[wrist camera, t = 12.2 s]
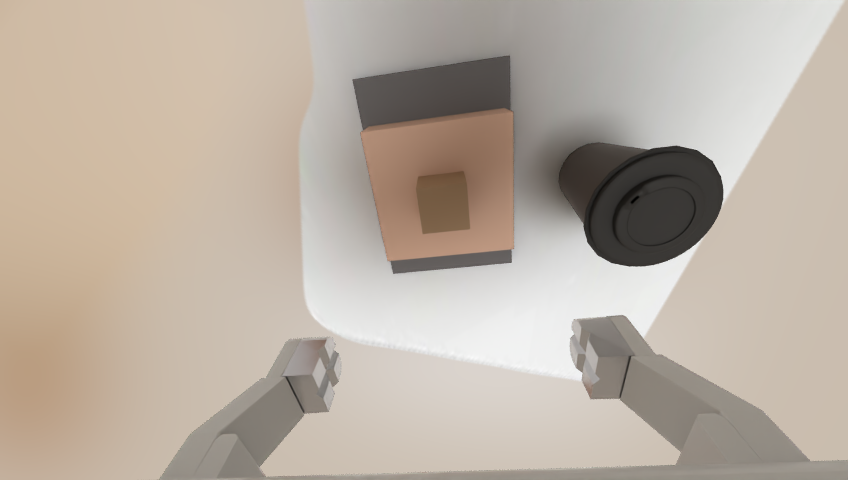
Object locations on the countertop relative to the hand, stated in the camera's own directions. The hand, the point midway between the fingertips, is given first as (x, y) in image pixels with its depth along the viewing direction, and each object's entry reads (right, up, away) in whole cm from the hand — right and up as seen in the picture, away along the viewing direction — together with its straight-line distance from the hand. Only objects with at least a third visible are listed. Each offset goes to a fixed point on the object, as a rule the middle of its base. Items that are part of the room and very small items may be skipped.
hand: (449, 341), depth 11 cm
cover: (+1, +7, +15) cm, 17 cm away
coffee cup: (+14, +9, +17) cm, 24 cm away
